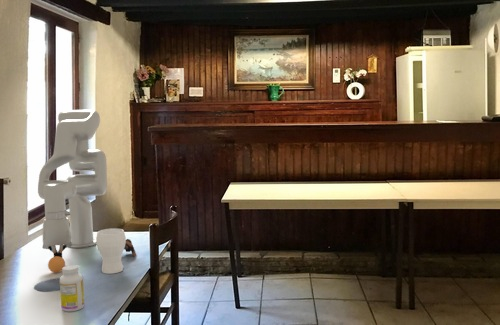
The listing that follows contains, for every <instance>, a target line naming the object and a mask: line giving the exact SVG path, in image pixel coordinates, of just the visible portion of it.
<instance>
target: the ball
mask: <svg viewBox="0 0 500 325" xmlns="http://www.w3.org/2000/svg"><path fill="white" fill-rule="evenodd" d="M65 266H66V261H65V259H64V258H63V256H62V257H59V256H55V257H54V256H53V257H51V258H50V259H49V261H48V263H47V267H48V270H49V271H51V272H52V273H56V274H57V273H61V272H62V268H63V267H65Z"/></svg>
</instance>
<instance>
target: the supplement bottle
mask: <svg viewBox="0 0 500 325" xmlns="http://www.w3.org/2000/svg"><path fill="white" fill-rule="evenodd" d="M79 271H80V269H79V265H76V264H73V265H72V264H71V265H65V267H63V268H62V271H61V272H62V275H61V276H60V290H59V292H60V307H61V310H62V311H64V312H76V311H79V310H81V309H83V308H84V307H85V296H84V294H85V293H84V292H85V291H84V278H83V275H82V274H81V273H79Z"/></svg>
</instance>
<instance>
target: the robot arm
mask: <svg viewBox="0 0 500 325" xmlns="http://www.w3.org/2000/svg"><path fill="white" fill-rule="evenodd" d="M57 118H58V119H57V120H58V123H57V125H56V129H55V137H54V139H55V140H54V147H53V153H52V156H51V157H50V158H49V159H48V160H47V161H46V162H45V163H44V164H43V166H42V167H41V170H40V172H39V175H38V176H39V177H38V183H37V193H38V196H39V197H40V199H42V200H43V201H44V202H43V203H44V216H45V217H44V219H43V222H42V249H45V250H49V251H50V252H52V253H53V257H55V256H59V257H62V258H63V252H64V250H65V249H66V248H73V249H79V248H89V247H93V246H95V245H97V244H96V238H94V229H93V227H94V224H93V208H92V203H91V202H90V200H89V198H88V197H89V196H90V197H91V196H103V195H105V194H106V193H107V190H108V174H107V172H108V170H107V169H108V168H107V157H106V154H105V152H104V151H103V150H101V149H90V148H89V147H90V146H89V140H91V139H92V138H93V137H94V135H95V134H96V132H97V130H98V128H99V127H100V125H101V124H100V123H101V118H100V113H99V112H98V111H96V110H93V109H71V110H69V109H68V110H64V111H63V110H62V111H61V112H59V113H58V115H57ZM65 164H68V165H69V169H70V170H72V171H73V172H94V173H93V174H92V173H90V174H87V173H86V174H85V173H82V174H80V173H79V174H72V175H70V176H68V177H67V178H66V179H63V180H62V179H60V180H56V179H55V180H54V179H53V180H52V179H51V180H50V176H51V174H52V173H53V172H54V171H55V170H57V169H58V168H59V167H62V166H63V165H65ZM66 200H68V208H69V210H68V211H67V207H66ZM67 216H69V217H67ZM56 246H59V249H58V250H57V247H56Z"/></svg>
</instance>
